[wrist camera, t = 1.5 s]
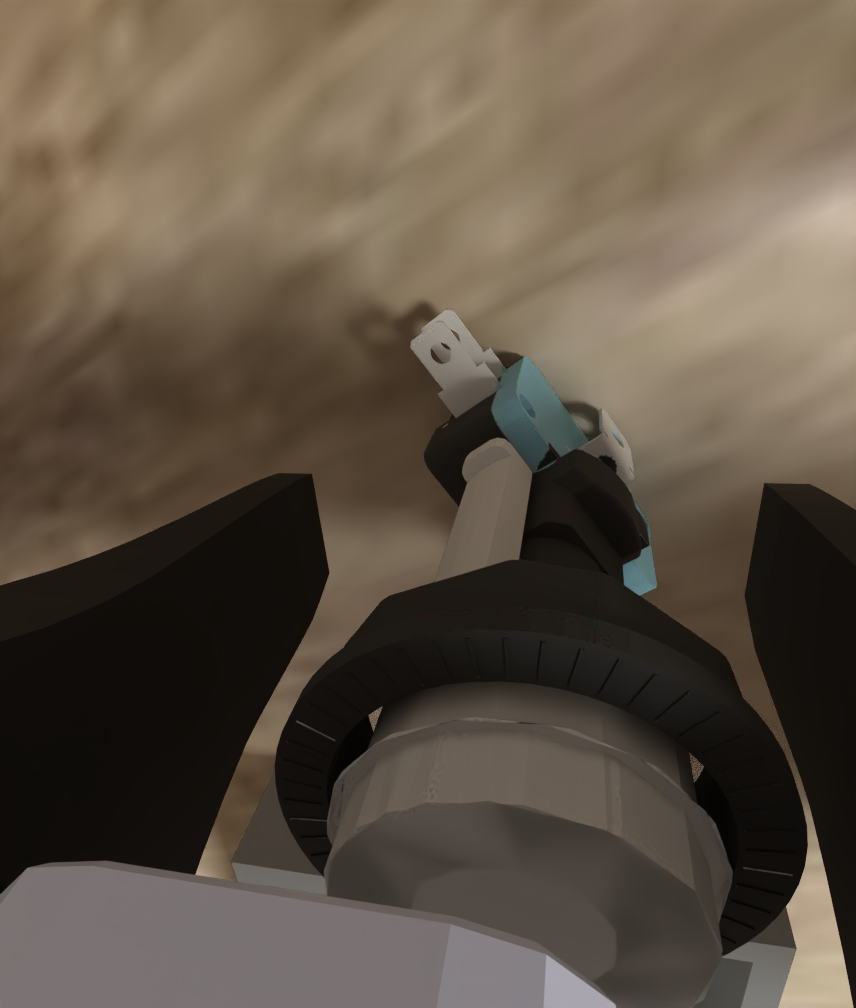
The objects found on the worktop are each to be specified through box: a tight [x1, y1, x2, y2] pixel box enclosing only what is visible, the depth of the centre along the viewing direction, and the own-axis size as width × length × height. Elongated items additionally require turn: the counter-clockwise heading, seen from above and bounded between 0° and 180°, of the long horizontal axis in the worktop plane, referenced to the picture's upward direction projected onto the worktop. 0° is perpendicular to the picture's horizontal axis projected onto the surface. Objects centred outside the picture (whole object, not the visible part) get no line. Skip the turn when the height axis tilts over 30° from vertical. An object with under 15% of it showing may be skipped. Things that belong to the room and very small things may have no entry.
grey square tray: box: [231, 772, 796, 1008], centre depth 22 cm, size 14×14×4 cm
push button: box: [275, 309, 808, 1008], centre depth 10 cm, size 7×5×10 cm
